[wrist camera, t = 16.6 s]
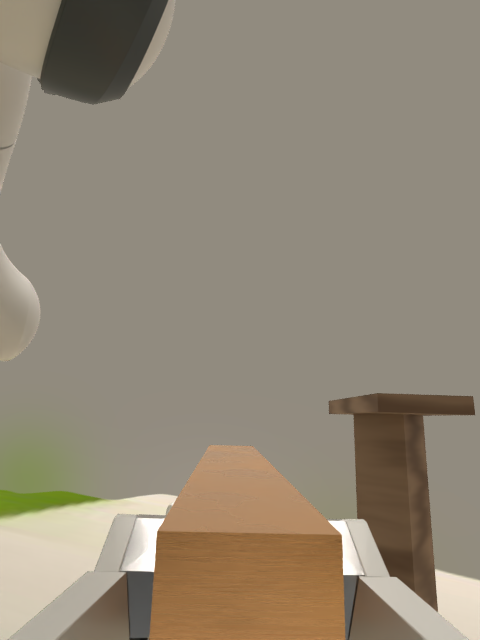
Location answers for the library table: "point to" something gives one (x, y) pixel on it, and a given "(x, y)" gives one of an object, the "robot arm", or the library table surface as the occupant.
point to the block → (246, 558)
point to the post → (398, 479)
